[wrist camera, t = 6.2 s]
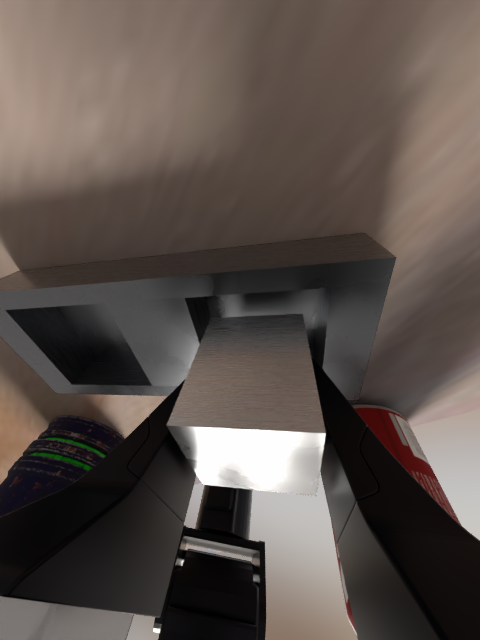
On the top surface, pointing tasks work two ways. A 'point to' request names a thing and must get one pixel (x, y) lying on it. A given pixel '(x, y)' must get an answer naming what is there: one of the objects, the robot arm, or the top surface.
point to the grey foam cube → (252, 407)
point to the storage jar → (56, 460)
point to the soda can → (407, 452)
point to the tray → (193, 311)
